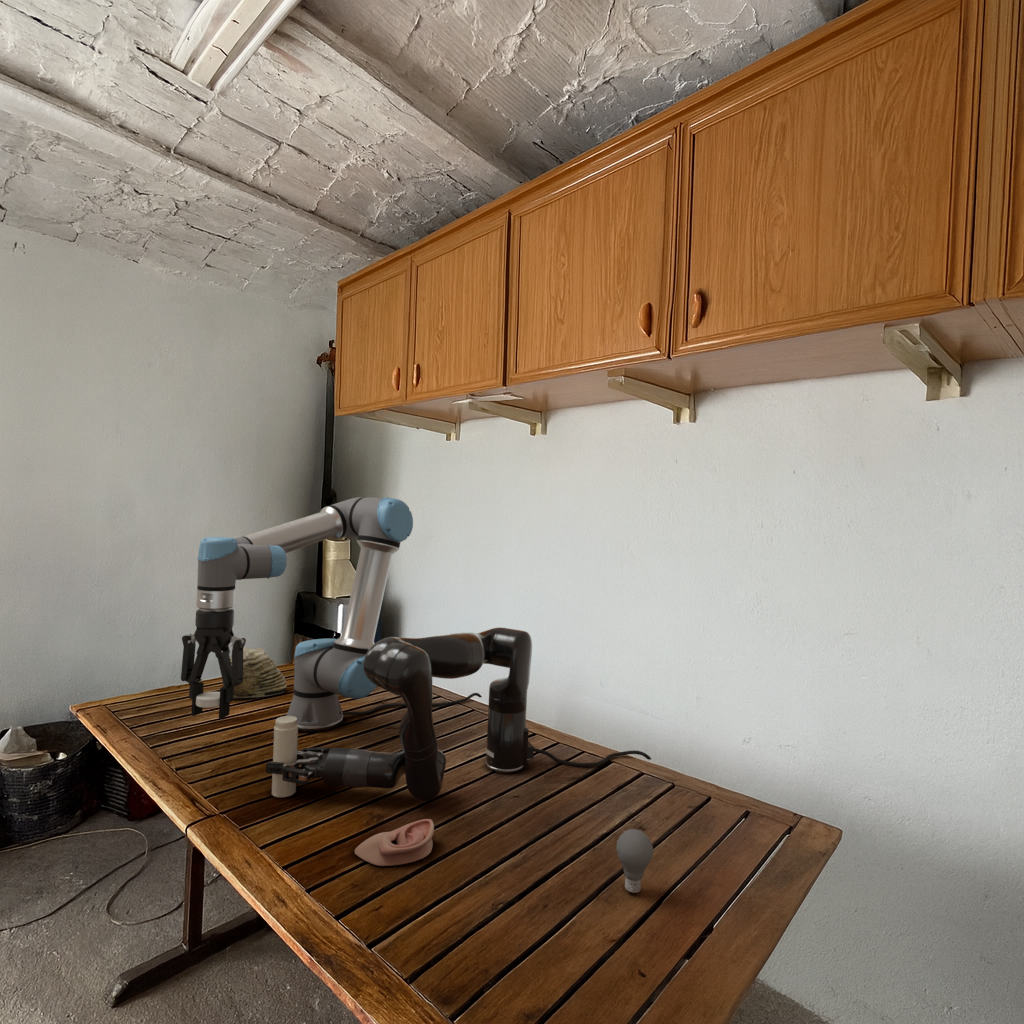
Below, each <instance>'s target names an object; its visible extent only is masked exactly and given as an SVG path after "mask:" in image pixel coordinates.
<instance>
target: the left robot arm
mask: <svg viewBox="0 0 1024 1024" xmlns="http://www.w3.org/2000/svg"><path fill="white" fill-rule="evenodd" d="M413 528H414V516H413V514H412V511H411V509H410V507H409V506H408V504H407V503H406V502H404V501H403V500H401V499H397V498H393V497H388V496H387V497H379V496H377V497H376V496H371V497H370V496H357V497H352V498H349V499H345V500H343V501H340V502H336V503H334V504H330V505H327V506H324V507H323V508H321V510H320V511H319V512H316V513H314V514H310V515H306V516H303V517H301V518H297V519H295V520H291V521H288V522H284V523H282V524H279V525H275V526H271V527H268V528H265V529H262V530H258V531H255V532H252V533H250V534H246V535H243V536H240V537H236V538H235V537H227V536H207V537H206V536H205V537H203V538H201V540H200V542H199V547H198V555H197V581H196V582H197V585H196V587H197V588H196V608H198V609H197V610H196V611H195V622H194V625H195V627H196V629H195V631H194V632H193V633H189V634H185V635H182V637H181V641H182V647H183V649H182V650H183V651H182V660H181V673H180V680H181V681H182V682H186V683H188V685H189V689H188V690H189V694H188V698H189V700H191V714H190V715H191V717H195V716H198V715H199V714H201V713H203V707H198V706H197V705H196V697H197V695H199V694H202V693H204V687H205V686H204V684H205V683H204V682H202V681H203V678H202V676H203V672H204V670H205V668H206V664H207V662H208V657H209V655H210V654H211V653H213V654H214V655H215V658H217V662H218V666H219V670H220V671H219V672H220V675H221V680H222V685H223V684H224V685H223V686H221V687H220V688H219V692H220V704H219V706H218V707H219V708H218V720H219V719H220V720H223V719H224V718H226V717H228V716H229V715H230V709H231V706H230V705H231V702H233V700H234V698H233V697H234V686H236V685H238V684H240V683H242V682H243V648H244V647H245V645H246V642H247V639H246V638H245V637H241V638H240V637H238V636H236V635H235V633H234V631H233V627H234V623H235V622H234V621H235V610H234V607H235V605H236V604H235V601H236V583H237V582H236V581H240V580H241V581H242V580H253V579H255V580H256V579H268V580H269V579H270V578H278V577H281V576H282V575H283V574H284V573H285V571H286V570H287V565H288V564H287V561H288V556H287V554H288V553H291V552H293V551H296V550H299V549H302V548H304V547H308V546H311V545H313V544H316V543H319V542H322V541H325V540H328V539H330V540H333V541H335V540H339V539H342V538H351V537H352V538H354V537H355V538H357V540H356V542H357V544H358V546H359V548H360V552H359V556H358V560H357V565H356V569H355V574H354V579H353V583H352V587H351V592H350V595H349V596H350V597H349V602H348V606H347V610H346V615H345V619H344V623H343V627H342V632H341V636H339V637H338V638H331V637H329V638H317V639H316V638H315V639H308V640H304V641H300V642H299V643H298V644H297V645H296V646H295V650H294V651H295V652H294V655H293V658H294V672H293V695H292V696H293V697H292V699H291V702H290V704H289V708H288V711H287V713H286V715H285V716H294V717H296V718H297V724H298V732H301V733H316V732H325V731H329V730H332V729H335V728H337V727H339V726H340V725H342V723H343V722H344V716H363V715H368V714H371V713H373V712H376V711H378V710H380V709H383V708H392V707H407V706H406V704H405V702H394V703H385V704H384V703H383V704H380V705H377V706H375V707H372V708H370V709H368V710H363V711H343V709H342V706H341V702H340V699H339V695H340V696H341V697H343V698H345V699H347V698H348V699H353V700H360V699H365V698H367V697H368V696H369V695H370V694H371V693H372V692H374V691H375V690H376V688H377V687H378V686H377V685H375V684H374V683H372V682H371V681H370V680H369V679H368V678H367V676H366V674H365V672H364V668H363V662H364V658H365V656H366V654H367V652H368V650H369V649H370V648H371V647H372V646H373V645H374V644H375V643H376V642H375V637H376V634H377V633H376V632H377V627H378V624H379V619H380V614H381V608H382V604H383V599H384V595H385V591H386V586H387V581H388V577H389V571H390V567H391V562H392V557H393V555H394V554H395V553H396V552H398V551H399V550H400V546H401V542H404V541H405V540H407V539H408V538H409V537H410V536H411V534H412V531H413ZM196 643H197V644H198V647H197V645H196ZM230 644H231V645H230ZM229 645H230V646H229ZM196 647H197V650H196ZM230 647H231V648H232V649H230ZM230 650H231V652H230ZM230 653H231V655H232V665H231V661H230V657H231V656H230ZM473 697H478V698H482V697H483V696H482V695H481V694H480V693H478V692H473V693H471V694H469V695H468V696H466V697H465V699H464V698H462V699H457V700H452V701H446V702H436V703H435V702H432V707H444V706H450V705H452V706H453V705H456V704H460V703H465V702H467V701H469V700H470V699H472V698H473Z"/></svg>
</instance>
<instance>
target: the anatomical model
mask: <svg viewBox="0 0 1024 1024" xmlns="http://www.w3.org/2000/svg"><path fill="white" fill-rule="evenodd" d="M434 824H435V823H434V821H433V820H432V819H430V818H424V819H423V818H422V819H419V820H416V821H413V822H410V823H407V824H405V825H402V826H400V827H397V828H395V829H393V830H391V831H384V832H379V833H377V834H374V835H372V836H370V837H368V838H367V839H365V840H363V841H362V842H361V843H360V844H359V845H358V846H356V847H355V849H354V854H355V856H357V857H358V858H360V859H361V860H363V861H365V862H367V863H368V864H372V865H374V866H378V867H390V866H398V865H399V866H400V865H406V864H409V863H413V862H417V861H419V860H422V859H424V858H426V857H427V856H429V854H430V853H431V852H432V850H433V843H434V842H433V839H432V838H433V837H434V834H435V825H434Z"/></svg>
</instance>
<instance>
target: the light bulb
mask: <svg viewBox="0 0 1024 1024" xmlns="http://www.w3.org/2000/svg"><path fill="white" fill-rule="evenodd" d="M615 849H616V854H617V857H618V859H619V861H620V863H621V865H622V867H623V873H624V874H623V875H624V876H625V878H624V888H625V890H627V891H628V892H630V893H634V894H635V893H639V892H640V891H641V889H642V887H641V886H642V879H643V877H644V875H645V871H646V868H647V867H648V866H649V864H650V863H651V861H652V859H653V855H654V847H653V843H652V841H651V838H649V836H648V835H647V834H646V833H645V832H643V831H642V830H641V829H636V828H629V829H627V830H625V831H623V832H622V833H621V834H620V835H619V837H618V839H617V841H616V847H615Z"/></svg>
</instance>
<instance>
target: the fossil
mask: <svg viewBox="0 0 1024 1024" xmlns="http://www.w3.org/2000/svg"><path fill="white" fill-rule="evenodd" d="M230 661H231V665H232V654H231V656H230ZM222 685H223V686H224V684H223V683H222ZM287 687H288V686H287V680H286V678H285V676H284V674H283V673H282V672H281V669H279V668H278V667H277V665H276V663H275V662H274V660H273V659H272V658H271V657H270V656H269V655H268V654H267V653H266V652H265V650H264V649H263V648H260V647H258V648H251V647H247V646H246V647H245V646H244V648H243V682H242V683H240V684H238V685H236V686H234V697H233V699H250V698H264V697H271V696H275V695H281V694H284V693H285V691H286V689H287Z"/></svg>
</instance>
